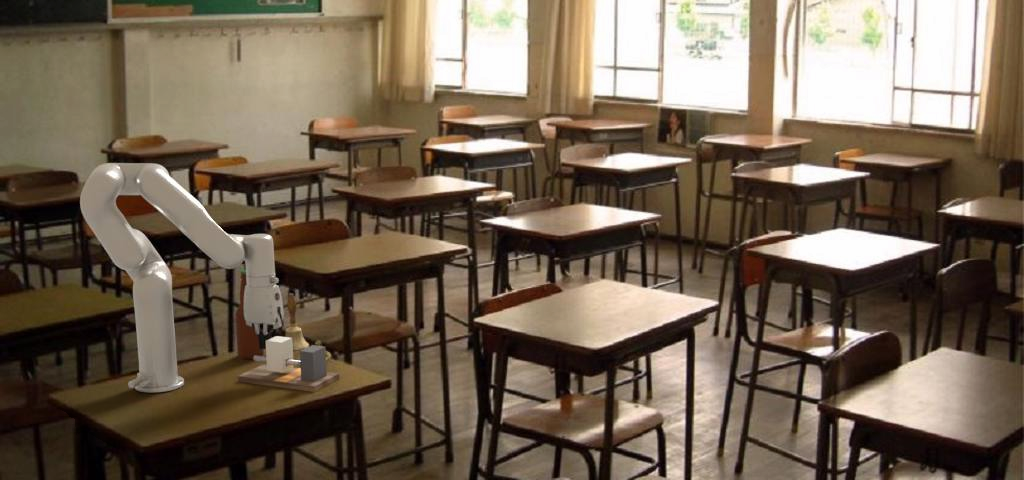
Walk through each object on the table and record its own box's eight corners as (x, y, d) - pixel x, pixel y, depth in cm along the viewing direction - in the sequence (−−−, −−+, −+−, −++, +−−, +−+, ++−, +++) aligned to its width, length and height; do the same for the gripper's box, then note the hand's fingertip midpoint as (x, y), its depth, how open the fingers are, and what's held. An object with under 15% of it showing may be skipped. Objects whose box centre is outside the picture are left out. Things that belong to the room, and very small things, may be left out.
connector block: (314, 382, 325) (312, 352, 323) (301, 380, 326) (299, 350, 325) (326, 375, 330) (325, 346, 329) (313, 374, 332) (312, 345, 330)
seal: (326, 371, 344) (334, 355, 358) (327, 355, 343) (336, 340, 357) (292, 368, 344) (302, 352, 358) (293, 352, 343) (303, 336, 357)
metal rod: (305, 367, 328) (305, 362, 328) (253, 361, 335) (253, 356, 334) (308, 366, 329) (308, 361, 329) (256, 359, 336) (256, 354, 336)
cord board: (314, 392, 321) (314, 385, 321) (237, 381, 331) (237, 375, 331) (339, 378, 332) (339, 372, 332) (264, 369, 342) (264, 363, 342)
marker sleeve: (282, 372, 329) (281, 342, 327) (267, 370, 331) (265, 340, 329) (293, 367, 333) (292, 337, 332) (278, 365, 335) (276, 336, 334)
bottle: (267, 353, 358) (262, 267, 353) (259, 360, 350) (254, 273, 346) (242, 352, 358) (238, 267, 354) (234, 359, 351) (229, 273, 347)
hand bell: (285, 352, 358) (282, 298, 355) (276, 345, 365) (273, 292, 362) (312, 348, 362) (310, 294, 359) (303, 341, 369) (301, 289, 366)
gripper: (292, 279, 330) (296, 346, 334) (246, 275, 336) (250, 341, 340) (276, 286, 323) (280, 354, 327) (229, 281, 329) (233, 348, 333)
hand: (265, 347), depth 333 cm, fingers closed
